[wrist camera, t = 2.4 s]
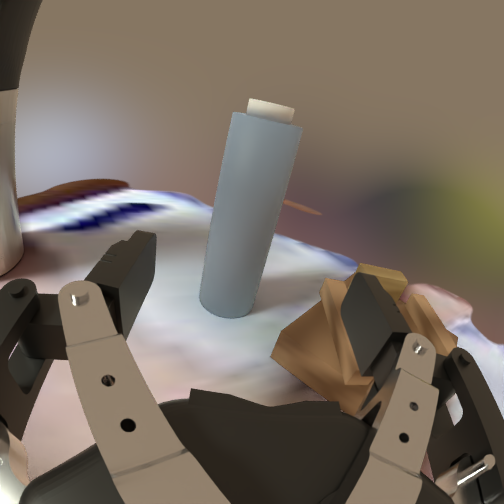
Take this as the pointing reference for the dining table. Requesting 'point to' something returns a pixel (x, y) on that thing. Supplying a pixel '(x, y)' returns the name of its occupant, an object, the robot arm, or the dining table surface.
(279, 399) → the dining table surface
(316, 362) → the display stand
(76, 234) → the dining table surface
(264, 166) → the flask
